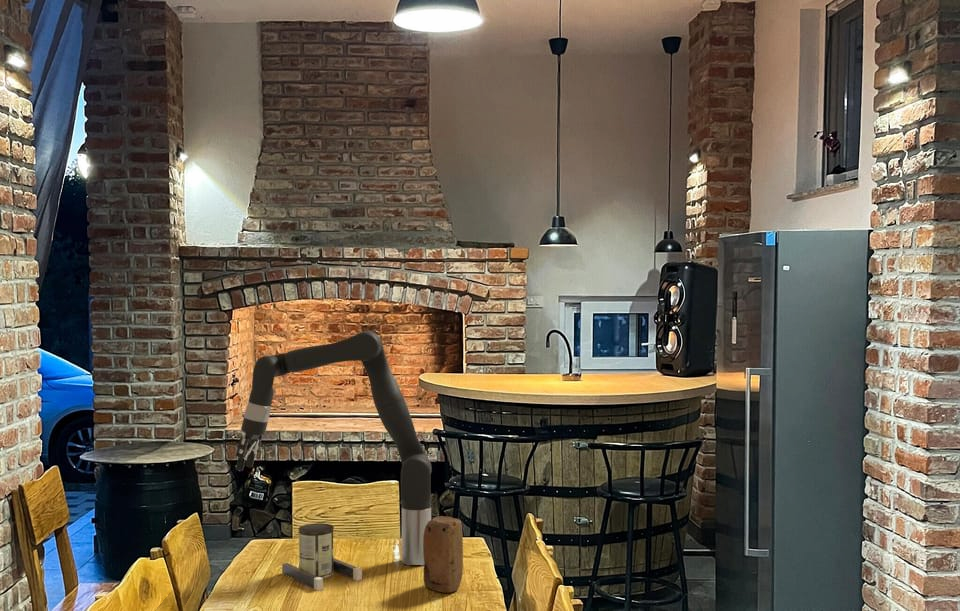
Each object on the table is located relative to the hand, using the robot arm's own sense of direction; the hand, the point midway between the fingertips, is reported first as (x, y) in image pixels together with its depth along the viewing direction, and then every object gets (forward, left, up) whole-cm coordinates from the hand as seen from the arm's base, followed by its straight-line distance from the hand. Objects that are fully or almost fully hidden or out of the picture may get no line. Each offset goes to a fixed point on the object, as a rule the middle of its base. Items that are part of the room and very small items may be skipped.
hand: (243, 468), depth 273 cm
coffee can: (-10, +26, -29) cm, 40 cm away
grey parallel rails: (-10, +29, -29) cm, 42 cm away
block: (-30, +61, -29) cm, 74 cm away
